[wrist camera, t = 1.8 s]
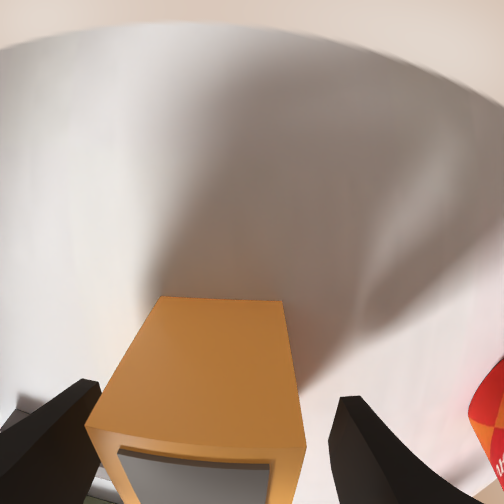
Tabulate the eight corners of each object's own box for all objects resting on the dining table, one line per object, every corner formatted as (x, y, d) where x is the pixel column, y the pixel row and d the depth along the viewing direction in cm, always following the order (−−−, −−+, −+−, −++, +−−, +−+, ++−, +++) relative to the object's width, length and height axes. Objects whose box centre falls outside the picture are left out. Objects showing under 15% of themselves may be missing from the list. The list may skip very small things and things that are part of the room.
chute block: (175, 411, 12) (142, 536, 6) (160, 295, 10) (81, 430, 4) (272, 416, 12) (279, 548, 6) (281, 300, 10) (308, 453, 4)
